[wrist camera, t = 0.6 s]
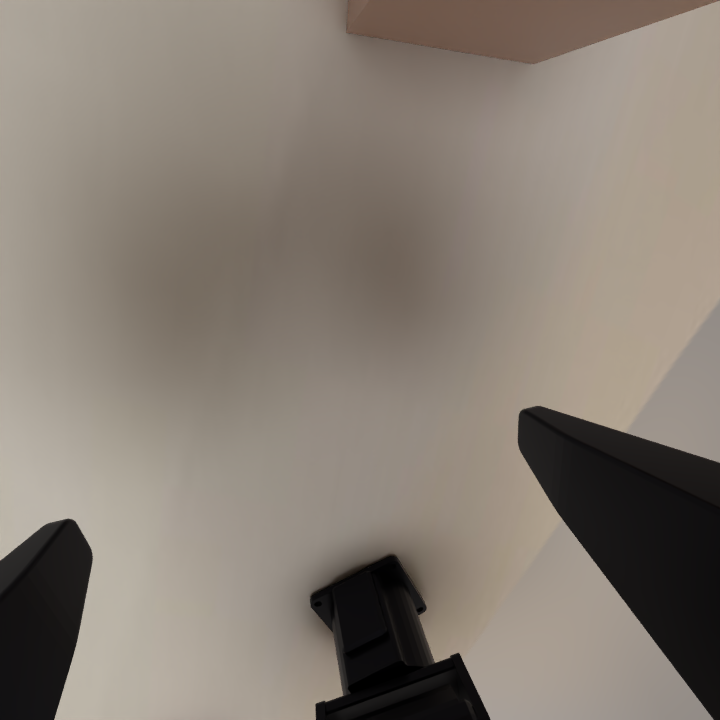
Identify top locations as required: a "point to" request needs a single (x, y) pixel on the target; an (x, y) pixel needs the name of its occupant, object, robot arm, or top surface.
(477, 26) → the tile
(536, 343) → the top surface
